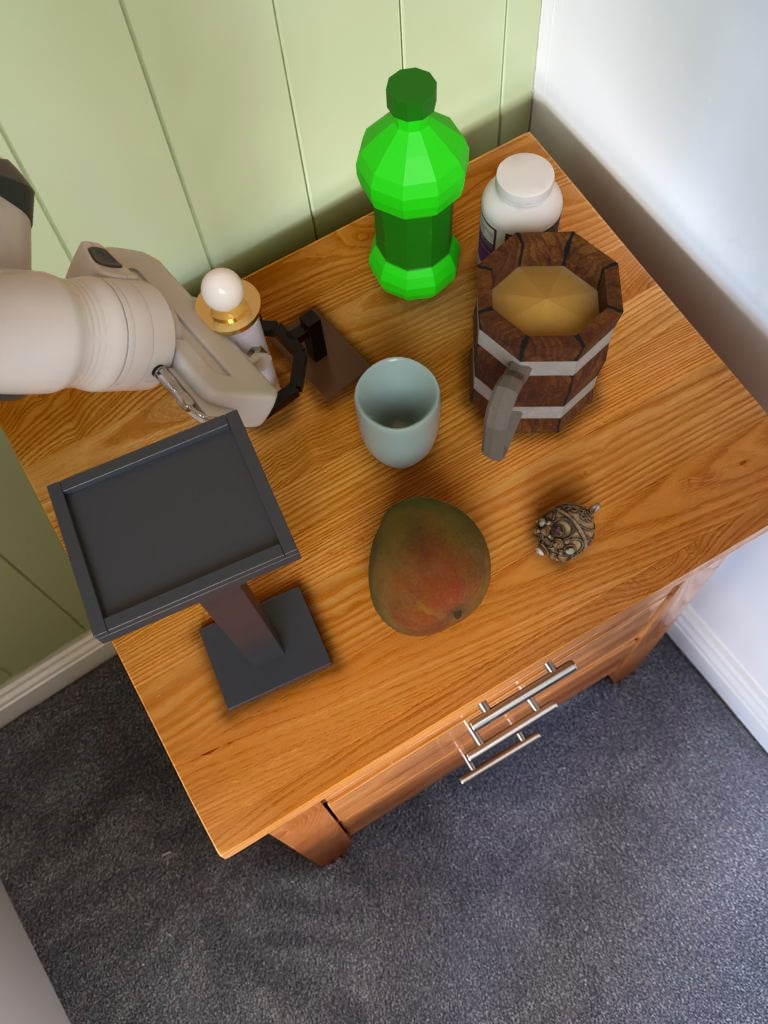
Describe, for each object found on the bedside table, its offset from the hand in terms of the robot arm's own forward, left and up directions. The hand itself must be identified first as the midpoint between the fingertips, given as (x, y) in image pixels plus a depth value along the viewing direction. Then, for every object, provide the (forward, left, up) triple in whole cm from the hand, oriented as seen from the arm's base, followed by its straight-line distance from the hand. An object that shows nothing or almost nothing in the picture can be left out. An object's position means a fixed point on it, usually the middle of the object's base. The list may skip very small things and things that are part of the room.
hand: (246, 338), depth 78 cm
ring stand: (+2, +1, -10) cm, 11 cm away
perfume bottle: (-1, 0, -11) cm, 11 cm away
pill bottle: (+30, +3, -11) cm, 32 cm away
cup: (+10, -11, -11) cm, 19 cm away
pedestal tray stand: (-10, -25, -10) cm, 29 cm away
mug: (+23, -12, -11) cm, 28 cm away
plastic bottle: (+20, +7, -11) cm, 24 cm away
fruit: (+6, -25, -11) cm, 28 cm away
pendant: (+20, -27, -11) cm, 36 cm away
